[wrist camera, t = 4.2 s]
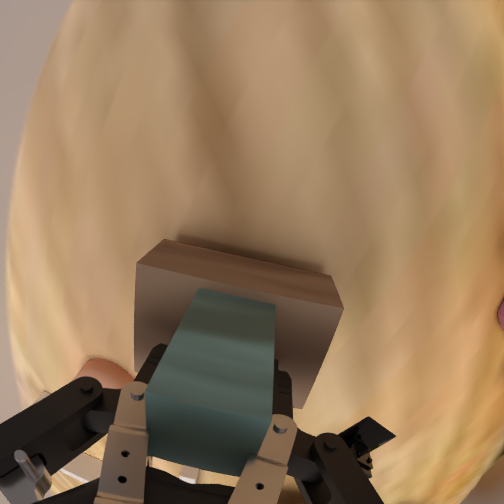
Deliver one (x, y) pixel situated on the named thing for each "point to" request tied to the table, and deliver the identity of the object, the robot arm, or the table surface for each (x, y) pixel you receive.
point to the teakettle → (501, 314)
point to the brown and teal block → (225, 348)
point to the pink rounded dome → (105, 373)
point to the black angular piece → (365, 441)
